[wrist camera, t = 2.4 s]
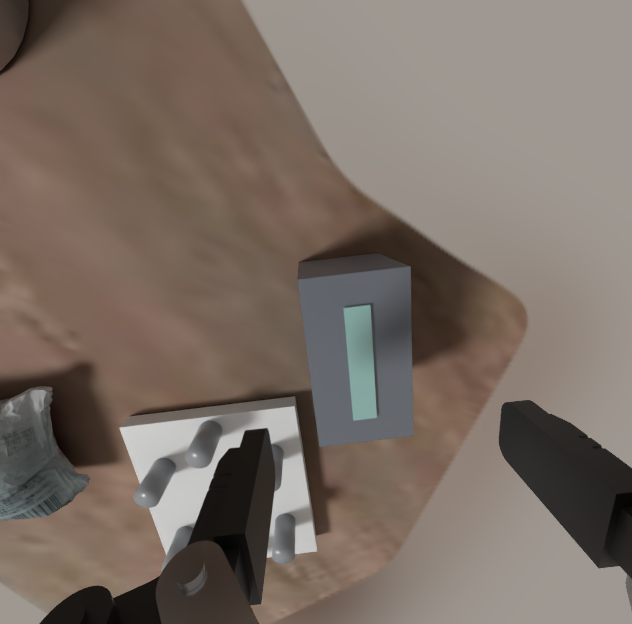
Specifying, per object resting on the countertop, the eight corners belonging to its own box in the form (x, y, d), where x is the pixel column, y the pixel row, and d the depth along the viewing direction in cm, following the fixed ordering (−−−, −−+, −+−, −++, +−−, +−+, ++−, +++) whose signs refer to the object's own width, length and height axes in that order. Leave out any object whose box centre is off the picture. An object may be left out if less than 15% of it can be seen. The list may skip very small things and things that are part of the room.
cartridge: (299, 261, 19) (297, 280, 13) (377, 252, 19) (412, 266, 13) (314, 386, 21) (319, 449, 15) (383, 378, 21) (414, 437, 15)
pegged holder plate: (129, 416, 21) (94, 455, 18) (295, 396, 21) (293, 431, 18) (177, 553, 25) (157, 607, 22) (316, 536, 25) (318, 587, 22)
